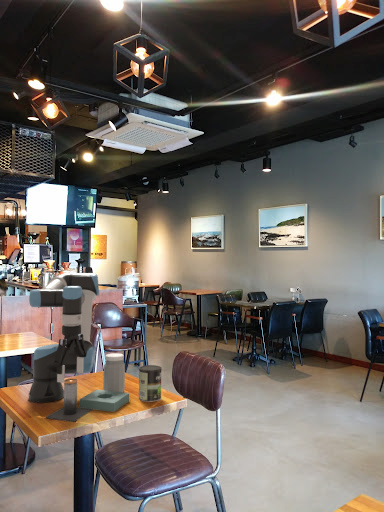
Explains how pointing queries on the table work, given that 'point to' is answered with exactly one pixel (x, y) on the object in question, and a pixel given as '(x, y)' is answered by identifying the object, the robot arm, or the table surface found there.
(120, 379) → the jar
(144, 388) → the coffee can
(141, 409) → the table surface
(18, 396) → the table surface
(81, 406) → the block
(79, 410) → the mat
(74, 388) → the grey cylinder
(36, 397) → the robot arm
